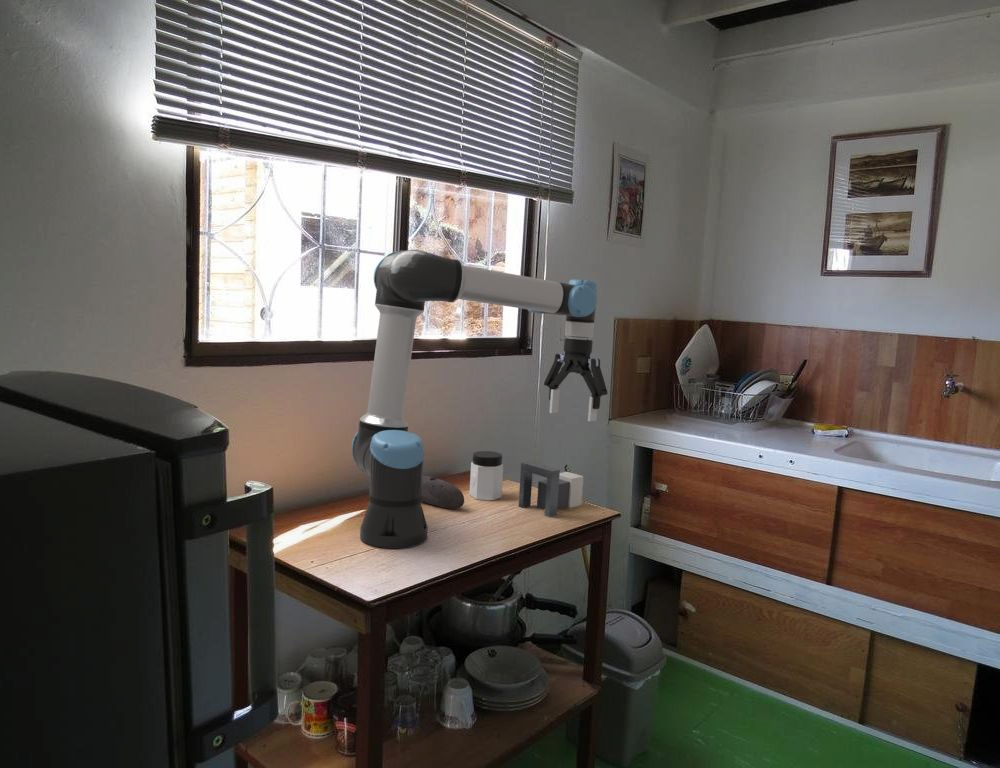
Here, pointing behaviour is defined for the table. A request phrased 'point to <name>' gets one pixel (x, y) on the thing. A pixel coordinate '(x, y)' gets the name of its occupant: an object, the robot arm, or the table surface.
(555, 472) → the frame
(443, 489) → the perforated stone tool
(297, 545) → the table surface
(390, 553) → the table surface
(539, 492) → the plug
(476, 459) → the jar
